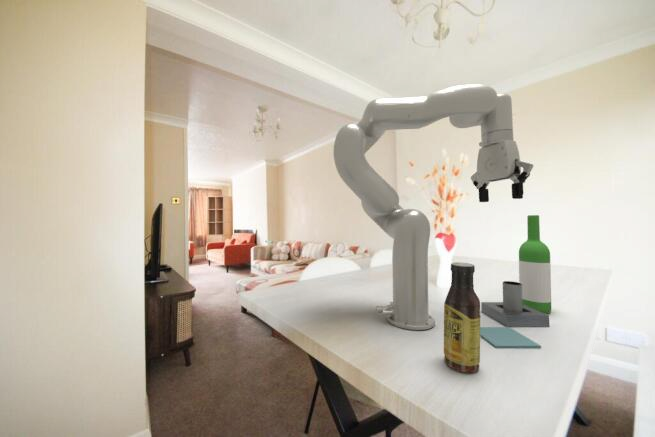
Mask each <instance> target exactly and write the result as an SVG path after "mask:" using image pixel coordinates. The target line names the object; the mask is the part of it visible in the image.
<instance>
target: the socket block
mask: <svg viewBox="0 0 655 437" xmlns="http://www.w3.org/2000/svg"><path fill="white" fill-rule="evenodd" d="M522 306H523V312H508V311H506V310H504V309H503V301H496V302H495V301H485V302H483V301H481V302H480V309H481V313H482V314H484V315H486V316H488V317H489V318H491V319H492V320H495V321H497V322H498V323H499V324H501V325H503V326H504V327H510V328H523V327H525V328H540V327H541V328H550V315H549V314H548V313H547V314H545V313H542V312H540V311H537V310H535V309H533V308H530V307H528V306H526V305H523V304H522Z"/></svg>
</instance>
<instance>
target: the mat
mask: <svg viewBox="0 0 655 437" xmlns="http://www.w3.org/2000/svg"><path fill="white" fill-rule="evenodd" d="M480 338H481V339H483V340H484V341H486V342H487V343H489V345H490V346H493V348H495V349H542V345H540V343H537V342H535V341H533V340H532V339H530V338H529V337H527V336H525V335H523V334H522V333H520V332H518V331H516V330H515V329H513V328H512V327H506V326H480Z"/></svg>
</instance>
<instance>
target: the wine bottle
mask: <svg viewBox="0 0 655 437" xmlns="http://www.w3.org/2000/svg"><path fill="white" fill-rule="evenodd" d="M540 228H541V227H540V215H538V214H535V215H534V214H532V215H527V240H526V241H524V242H523V243H522V244H521V245H520V247H519V250H518V278H519V279H518V281H519V282H518V283H521V284H522V304H523V305H526V306H528V307H530V308H533V309H535V310H537V311H540V312H542V313H545V314H547V315H548V314H550V313H551V312H552V274H551V270H552V269H551V252H550V249H549V247H548V245H546V244H545V243H544V242H542V241H541V236H540V234H541V232H540Z"/></svg>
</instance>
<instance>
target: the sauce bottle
mask: <svg viewBox="0 0 655 437" xmlns="http://www.w3.org/2000/svg"><path fill="white" fill-rule="evenodd" d="M475 267H476V266H475V265H474V264H473V263H468V262H460V261H459V262H458V261H457V262H452V263H451V264H450V271H451V283H450V284H451V285H450V287H449V290H448V292H447V294H446V298H445V299H444V303H443V304H444V305H443V307H444V308H443V309H444V311H443V354H444V361H445V363H446V365H447V366H448V367H450V368H451V369H453V370H455V371H457V372H459V373H467V374H469V373H475V372H478V370H480V363H481V362H480V361H481V337H480V327H481V310H480V309H481V302H480V298H479V297H478V295H477V294H476V292H475V290H474V287H475V286H474V273H475Z"/></svg>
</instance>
